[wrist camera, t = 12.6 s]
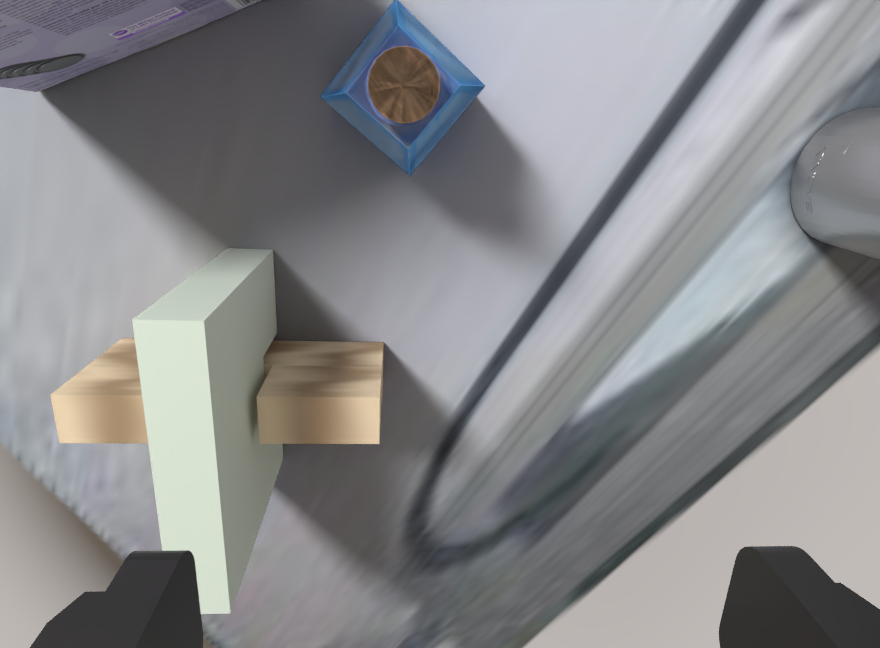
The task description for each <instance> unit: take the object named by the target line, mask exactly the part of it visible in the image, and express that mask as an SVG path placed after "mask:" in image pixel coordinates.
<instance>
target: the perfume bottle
mask: <svg viewBox="0 0 880 648" xmlns="http://www.w3.org/2000/svg"><path fill="white" fill-rule="evenodd" d="M484 87H485V85H484V84H483V83H482V82H481V81H480V80H479V79H478V78H477V77H476V76H475V75H474V74H473V73H472V72H471V71H470V70H469V69H468V68H467V67H466V66H464V65H463V64H462V63H461V62H460V61H459V60H458V59H457V58H456V57H455V56H454V55H453V54H452V53H451V52H450V51H449V50H448V49H447V48H446V47H445V46H444V45H443V44H442V43H441V42H440V41H439V40H438V39H437V38H436V37H435V36H434V35H433V34H432V33H431V32H430V31H429V30H428V29H427V28H426V27H425V26H424V25H422V24H421V23H420V22H419V21H418V20H417V19H416V18H415V17H414V16H413V15H412V14H411V13H410V12H409V11H408V10H407V9H406V8H405V7H404V6H403V5H402V4H401V3H400V2H399V1H398V0H394V1H393V3H392V4H391V5H390V7H389V8H388V9H387V11H386V12H385V13H384V14H383V16H382V17H381V18H380V20H379V21H378V22H377V24H376V25H375V26H374V27H373V29H372V30H371V31H370V33H369V34H368V35H367V36H366V38H365V39H364V40H363V42H362V43H361V44H360V46H359V47H358V48H357V49H356V51H355V52H354V53H353V55H352V56H351V57H350V59H349V60H348V61H347V62H346V64H345V65H344V66H343V68H342V69H341V70H340V72H339V73H338V74H337V75H336V77H335V78H334V79H333V81H332V82H331V83H330V84H329V86H328V87H327V88H326V90H325V91H324V92H323V94H322V95H321V96H320V97H321V98H322V99H323V100H324V101H325V102H327V103H328V104H329V105H330V106H331V107H332V108H333V109H334V110H336V111H337V112H338V113H339V114H340V115H341V116H342V117H344V118H345V119H346V120H347V121H348V122H349V123H350V124H351V125H353V126H354V127H355V128H356V129H357V130H358V131H359V132H361V133H362V134H363V135H364V136H365V137H366V138H367V139H368V140H370V141H371V142H372V143H373V144H374V145H375V146H376V147H378V148H379V149H380V150H381V151H382V152H383V153H384V154H385V155H387V156H388V157H389V158H390V159H391V160H392V161H393V162H395V163H396V164H397V165H398V166H399V167H400V168H401V169H402V170H404V171H405V172H406V173H407V174H408V175H409V176H410V175H411V174H412V173H413V172H414V170H415V169H416V168H417V167H418V166H419V164H420V163H421V162H422V161H423V160H424V158H425V157H426V156H427V155H428V154H429V152H430V151H431V150H432V149H433V148H434V147H435V145H436V144H437V143H438V142H439V141H440V139H441V138H442V137H443V136H444V135H445V133H446V132H447V131H448V130H449V129H450V127H451V126H452V125H453V124H454V123H455V121H456V120H457V119H458V118H459V117H460V115H461V114H462V113H463V112H464V111H465V109H466V108H467V107H468V106H469V105H470V104H471V102H472V101H473V100H474V99H475V98H476V96H477V95H478V94H479V93H480V92H481V90H482V89H483V88H484Z"/></svg>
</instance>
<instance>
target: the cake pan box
mask: <svg viewBox="0 0 880 648" xmlns="http://www.w3.org/2000/svg"><path fill="white" fill-rule="evenodd" d="M259 1H262V0H0V86H1V87H7V88H14V89H21V90H27V91H33V92H37V91H41V90H44V89H47V88H50V87H52V86H54V85H56V84H59V83H61V82H64V81H66V80H69V79H71V78H73V77H76V76H78V75H81V74H83V73H86V72H88V71H91V70H94V69H96V68H99V67H102V66H104V65H107V64H109V63H112V62H114V61H117V60H120V59H122V58H125V57H127V56H129V55H132V54H134V53H136V52H140V51H145V50H147V49H150V48H152V47H154V46H157V45H159V44H162V43H164V42H167V41H169V40H171V39H174V38H176V37H179V36H181V35H184V34H186V33H189V32H191V31H194V30H196V29H198V28H201V27H203V26H205V25H206V24H208V23H209V22H212V21H214V20H217V19H220V18H222V17H224V16H227V15H229V14H231V13H234V12H236V11H238V10H241V9H243V8H245V7H248V6H250V5H252V4H255V3H257V2H259Z"/></svg>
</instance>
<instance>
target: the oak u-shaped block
mask: <svg viewBox="0 0 880 648" xmlns="http://www.w3.org/2000/svg"><path fill="white" fill-rule="evenodd" d="M263 358H264V375H265V381H264V383H263V385H262V387H261V389H260V391H259V393H258V395H257V411H258V427H259V442H260V444H379V441H380V425H381V409H382V393H383V358H384V342H340V341H276V340H273V341H272V342H271V344H270V346H269V348H268V349H267V351H266V353H265V355H264V356H263ZM51 401H52V406H53V411H54V417H55V422H56V427H57V433H58V438H59V443H148V437H147V429H146V422H145V414H144V406H143V399H142V391H141V384H140V376H139V368H138V361H137V353H136V345H135V338H122V339H120V340H119V341H118V342H117V343H115V344H114V345H113V346H112V347H110V348H109V349H108V350H106V351H105V352H104V353H103V354H101V355H100V356H99V357H98V358H96V359H95V360H94V361H93V362H91V363H90V364H89V365H88V366H86V367H85V368H84V369H82V370H81V371H80V372H79V373H77V374H76V375H75V376H74V377H72V378H71V379H70V380H69V381H67V382H66V383H65V384H63V385H62V386H61V387H60V388H58V389H57V390H56V391H55V392H53V393H52V394H51Z"/></svg>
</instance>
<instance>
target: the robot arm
mask: <svg viewBox="0 0 880 648" xmlns="http://www.w3.org/2000/svg"><path fill="white" fill-rule="evenodd" d="M790 195H791V206H792V209H793V212H794V215H795V218H796V219H797V221H798V223H799V224H800V226H801V228H802V229H803V230H804V231H806V232H807V233H808V234H809V235H810V236H811V237H813V238H815V239H816V240H818V241H820V242H822V243H826V244H829V245H833V246H836V247H839V248H843V249H846V250H850V251H853V252H856V253H860V254H863V255H866V256H869V257H872V258H876V259H879V260H880V107H868V108H863V109H857V110H853V111H850V112H848V113H845V114H843V115H840V116H838V117H837V118H835V119H834V120H832V121H830V122H829V123H827V124H826V125H825V126H824V127H823V128H821V129H820V130H819V131H818V132H817V133H816V134H815V135H814V136H813V137H812V139H811V140H810V141H809V142H808V144H807V145H806V146H805V148H804V149H803V151H802V153H801V155H800V157H799V159H798V161H797V163H796V166H795V169H794V172H793V175H792V181H791V189H790ZM719 641H720V648H880V609H878V608H877V607H875V606H874V605H872V604H871V603H870V602H868V601H866V600H865V599H864V598H862V597H860V596H859V595H858V594H856V593H855V592H853V591H852V590H850V589H849V588H847V587H846V586H844V585H843V584H841V583H835V582H833V580H832V579H831V578H830V577H829V576H828V575H827V574H826V573H825V572H824V571H823V570H822V569H821V568H820V566H819V565H818V564H817V563H816V562H815V561H814V560H813V559H812V558H811V557H810V556H809V555H808V554H807V553H806V552H805V551H804V550H802V549H800V548H798V547H794V546H774V547H773V546H772V547H770V546H769V547H744V548H743V549H741V550H740V551H739V553H738V555H737V557H736V560H735V565H734V568H733V573H732V577H731V581H730V585H729V589H728V593H727V598H726V601H725V606H724V609H723V614H722V618H721V622H720V628H719ZM30 648H203V630H202V621H201V612H200V603H199V594H198V585H197V576H196V567H195V560H194V556H193V554H192V552H191V551H189V550H182V551H134V552H132V553H130V554H129V556H128V557H127V558H126V559H125V561H124V562H123V564H122V566H121V567H120V569H119V571H118V572H117V574H116V575H115V577H114V579H113V580H112V582H111V583H110V585H109V587H108V588H107V590H106V591H105V592H84V593H83V594H82V595H81V596H79V597H78V598H77V599H76V600H75V601H73V602H72V603H71V604H70V605H68V606H67V607H66V608H65V609H64V610H62V611H61V612H60V613H59V614H58V615H56V616H55V617H54V618H53V619H52V620H50V621H49V622H48V623H47V624H46V626H45V627H44V628H43V630H42V631H41V633H40V634H39V635H38V637H37V638H36V640H35V641H34V643H33V644H32V645H31V647H30Z"/></svg>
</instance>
